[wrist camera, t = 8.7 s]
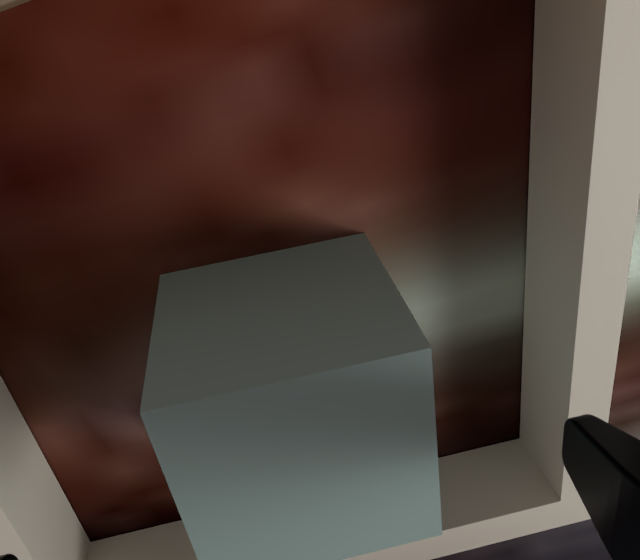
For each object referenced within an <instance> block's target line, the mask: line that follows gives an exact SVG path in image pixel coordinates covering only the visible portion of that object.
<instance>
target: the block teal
mask: <svg viewBox="0 0 640 560" xmlns="http://www.w3.org/2000/svg"><path fill="white" fill-rule="evenodd" d="M140 416H141V418H142V421H143V423H144V426H145V428H146V431H147V433H148V436H149V438H150V441H151V443H152V446H153V448H154V451H155V453H156V456H157V458H158V461H159V463H160V466H161V468H162V471H163V473H164V476H165V478H166V481H167V484H168V486H169V489H170V491H171V494H172V496H173V499H174V501H175V504H176V506H177V509H178V511H179V514H180V516H181V519H182V521H183V524H184V526H185V529H186V531H187V534H188V536H189V539H190V541H191V544H192V546H193V549H194V551H195V554H196V557H197V559H198V560H343V559H347V558H351V557H355V556H359V555H363V554H367V553H371V552H375V551H379V550H383V549H387V548H391V547H395V546H399V545H403V544H407V543H411V542H415V541H419V540H423V539H427V538H431V537H435V536H439V535H442V518H441V501H440V484H439V467H438V450H437V433H436V416H435V399H434V382H433V365H432V348H431V346H430V344H429V343H428V341H427V339H426V337H425V336H424V334H423V332H422V331H421V329H420V327H419V325H418V324H417V322H416V320H415V319H414V317H413V315H412V314H411V312H410V310H409V308H408V307H407V305H406V303H405V302H404V300H403V298H402V296H401V295H400V293H399V291H398V290H397V288H396V286H395V284H394V283H393V281H392V279H391V278H390V276H389V274H388V273H387V271H386V269H385V267H384V266H383V264H382V262H381V261H380V259H379V257H378V255H377V254H376V252H375V250H374V249H373V247H372V245H371V243H370V242H369V240H368V238H367V237H366V235H365V233H360V234H356V235H351V236H346V237H341V238H336V239H331V240H326V241H322V242H317V243H312V244H307V245H302V246H297V247H292V248H288V249H283V250H278V251H273V252H268V253H263V254H258V255H254V256H249V257H244V258H239V259H234V260H229V261H224V262H220V263H215V264H210V265H205V266H200V267H195V268H190V269H186V270H181V271H176V272H171V273H166V274H161V275H160V279H159V286H158V292H157V299H156V306H155V313H154V319H153V326H152V333H151V339H150V346H149V353H148V360H147V366H146V373H145V380H144V386H143V393H142V400H141V407H140Z"/></svg>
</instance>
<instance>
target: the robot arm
mask: <svg viewBox="0 0 640 560" xmlns="http://www.w3.org/2000/svg"><path fill="white" fill-rule="evenodd" d="M562 460H563V463H564V466H565V468H566V470H567V472H568V474H569V476H570V478H571V480H572V482H573V484H574V486H575V488H576V490H577V492H578V494H579V496H580V498H581V500H582V502H583V504H584V506H585V508H586V510H587V512H588V514H589V516H590V518H591V520H592V522H593V524H594V525H595V527H596V529H597V531H598V533H599V535H600V537H601V539H602V541H603V543H604V545H605V547H606V549H607V550H608V552H609V554H610V556H611V557H612V559H613V560H640V440H638V439H637V438H635V437H633V436H631V435H629V434H627V433H626V432H624V431H622V430H620V429H618V428H616V427H614V426H613V425H611V424H609V423H607V422H605V421H603V420H601V419H600V418H598V417H596V416H594V415H590V414H585V415H581V416H577V417H572V418H569V419H567V420H566V422H565V424H564V431H563V443H562ZM0 560H18V558H17V557H16V556H15V555H13V554H5V555H1V556H0Z"/></svg>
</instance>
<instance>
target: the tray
mask: <svg viewBox="0 0 640 560" xmlns="http://www.w3.org/2000/svg"><path fill="white" fill-rule="evenodd" d="M639 195H640V0H535V20H534V48H533V76H532V103H531V131H530V159H529V187H528V215H527V243H526V270H525V298H524V326H523V354H522V382H521V410H520V438H519V439H515V440H510V441H506V442H502V443H498V444H494V445H490V446H486V447H481V448H477V449H473V450H469V451H465V452H461V453H457V454H452V455H448V456H444V457H440V458H438V467H439V484H440V501H441V518H442V535H439V536H435V537H431V538H427V539H423V540H419V541H415V542H411V543H407V544H403V545H399V546H395V547H391V548H387V549H383V550H379V551H375V552H371V553H367V554H363V555H359V556H355V557H351V558H347V559H343V560H431V559H435V558H439V557H443V556H447V555H451V554H455V553H459V552H463V551H467V550H470V549H474V548H478V547H482V546H486V545H490V544H494V543H498V542H502V541H506V540H510V539H514V538H517V537H521V536H525V535H529V534H533V533H537V532H541V531H545V530H549V529H553V528H557V527H561V526H564V525H568V524H572V523H576V522H580V521H584V520H588V519H591V518H590V516H589V514H588V512H587V510H586V508H585V506H584V504H583V502H582V500H581V498H580V496H579V494H578V492H577V490H576V488H575V486H574V484H573V482H572V480H571V478H570V476H569V474H568V472H567V470H566V468H565V466H564V463H563V460H562V443H563V431H564V424H565V422H566V420H567V419H569V418H572V417H577V416H581V415H585V414H590V415H594V416H596V417H598V418H600V419H601V420H603V421H605V422H607V423H608V419H609V412H610V405H611V398H612V390H613V383H614V376H615V369H616V362H617V354H618V347H619V340H620V333H621V325H622V318H623V311H624V304H625V297H626V289H627V282H628V275H629V268H630V260H631V253H632V246H633V239H634V232H635V224H636V217H637V210H638V203H639ZM5 554H13V555H15V556H16V557H17V558H18V560H198V559H197V557H196V554H195V551H194V549H193V546H192V544H191V541H190V539H189V536H188V534H187V531H186V529H185V526H184V524H183V521H182V520H179V521H175V522H171V523H167V524H163V525H159V526H155V527H150V528H146V529H142V530H138V531H134V532H130V533H126V534H121V535H117V536H113V537H109V538H105V539H101V540H97V541H92V542H90V540H89V538H88V537H87V535H86V533H85V531H84V529H83V527H82V525H81V524H80V522H79V520H78V518H77V516H76V514H75V512H74V511H73V509H72V507H71V505H70V503H69V501H68V499H67V498H66V496H65V494H64V492H63V490H62V488H61V487H60V485H59V483H58V481H57V479H56V477H55V475H54V474H53V472H52V470H51V468H50V466H49V464H48V462H47V461H46V459H45V457H44V455H43V453H42V451H41V449H40V448H39V446H38V444H37V442H36V440H35V438H34V437H33V435H32V433H31V431H30V429H29V427H28V425H27V424H26V422H25V420H24V418H23V416H22V414H21V412H20V411H19V409H18V407H17V405H16V403H15V401H14V400H13V398H12V396H11V394H10V392H9V390H8V388H7V387H6V385H5V383H4V381H3V379H2V377H1V375H0V556H1V555H5Z"/></svg>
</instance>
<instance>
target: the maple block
mask: <svg viewBox="0 0 640 560" xmlns="http://www.w3.org/2000/svg"><path fill="white" fill-rule="evenodd" d="M28 1H30V0H0V12H2V11H5V10H7V9H10V8H12V7H15V6H17V5H20V4H23V3H25V2H28Z"/></svg>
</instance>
